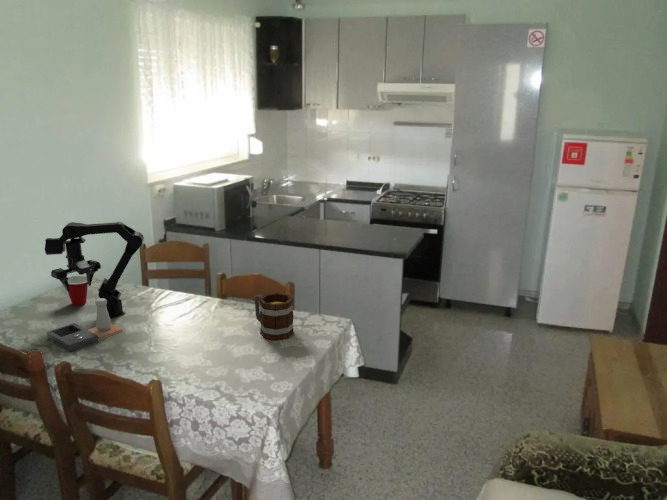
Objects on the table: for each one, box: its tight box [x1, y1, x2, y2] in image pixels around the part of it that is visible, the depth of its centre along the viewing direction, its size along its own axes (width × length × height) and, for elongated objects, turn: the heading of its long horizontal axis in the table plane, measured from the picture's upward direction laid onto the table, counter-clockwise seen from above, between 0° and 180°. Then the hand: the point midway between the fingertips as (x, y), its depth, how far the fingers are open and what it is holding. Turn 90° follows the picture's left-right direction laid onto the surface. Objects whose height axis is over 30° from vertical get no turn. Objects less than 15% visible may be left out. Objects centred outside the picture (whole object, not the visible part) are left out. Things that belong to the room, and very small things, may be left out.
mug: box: [254, 292, 295, 342], centre depth 219 cm, size 20×14×15 cm
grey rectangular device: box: [46, 322, 99, 353], centre depth 211 cm, size 11×18×3 cm, turn 52°
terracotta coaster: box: [87, 322, 124, 340], centre depth 219 cm, size 10×10×1 cm
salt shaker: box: [94, 298, 112, 332], centre depth 217 cm, size 6×6×13 cm
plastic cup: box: [67, 275, 89, 307], centre depth 246 cm, size 11×11×12 cm
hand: (79, 288), depth 230 cm, fingers open, 9 cm apart
